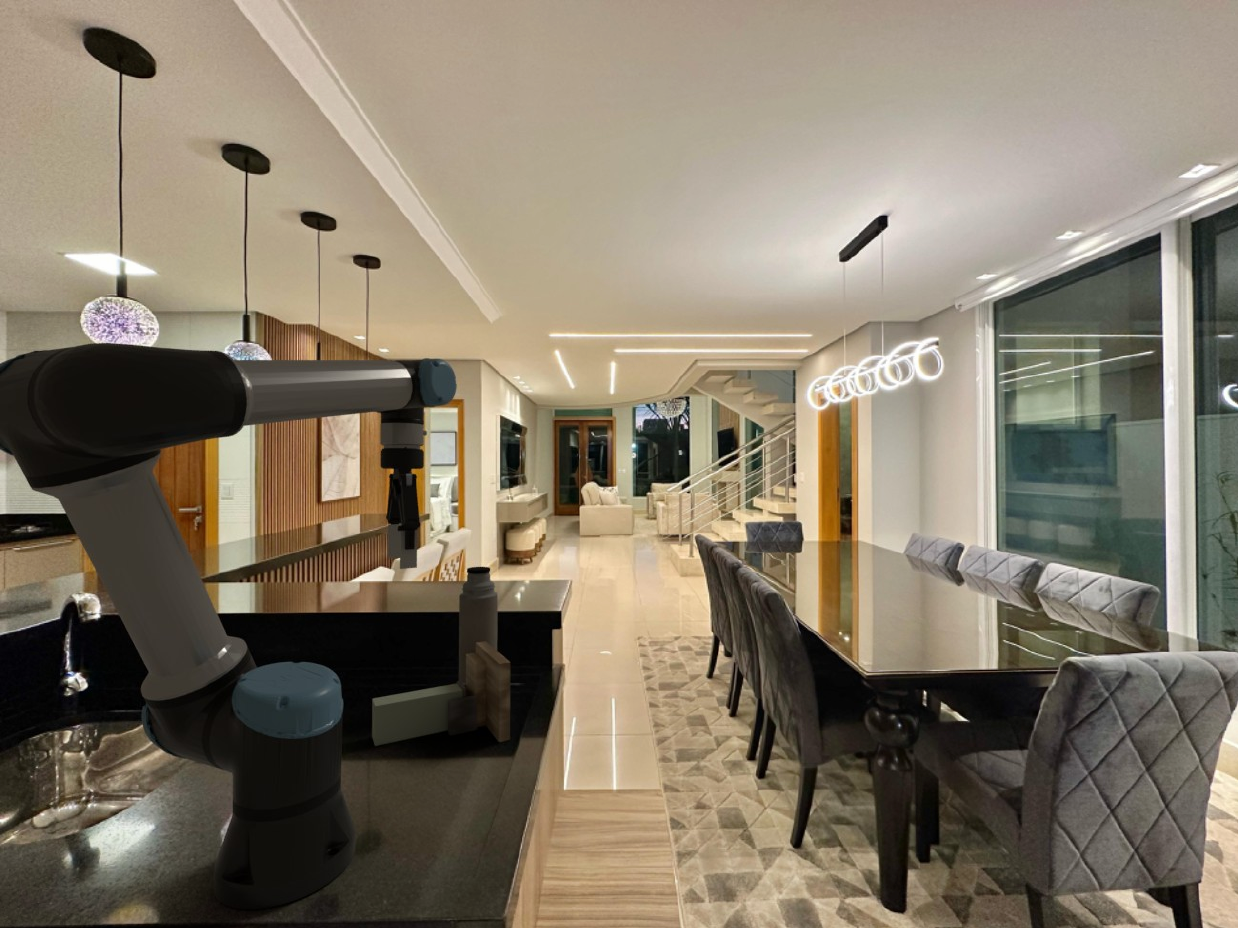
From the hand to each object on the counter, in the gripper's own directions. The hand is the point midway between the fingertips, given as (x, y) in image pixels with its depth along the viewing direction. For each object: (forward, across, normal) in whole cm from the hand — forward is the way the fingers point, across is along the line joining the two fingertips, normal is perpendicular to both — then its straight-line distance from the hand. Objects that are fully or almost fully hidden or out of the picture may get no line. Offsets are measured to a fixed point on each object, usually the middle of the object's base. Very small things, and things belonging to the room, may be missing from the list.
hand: (401, 562), depth 107 cm
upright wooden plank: (+32, -3, -13) cm, 34 cm away
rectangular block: (+32, 0, -4) cm, 32 cm away
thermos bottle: (+32, +10, -18) cm, 38 cm away
